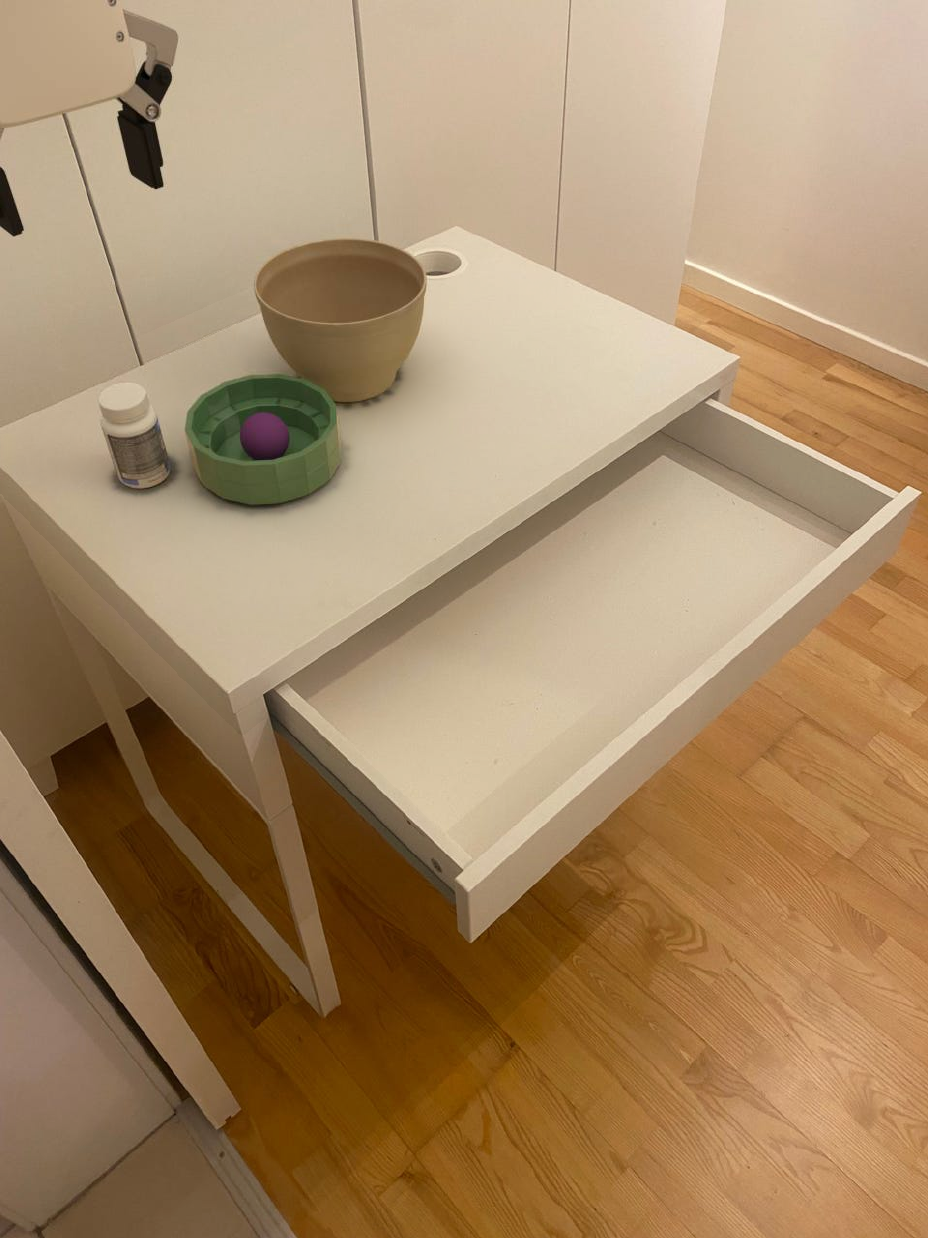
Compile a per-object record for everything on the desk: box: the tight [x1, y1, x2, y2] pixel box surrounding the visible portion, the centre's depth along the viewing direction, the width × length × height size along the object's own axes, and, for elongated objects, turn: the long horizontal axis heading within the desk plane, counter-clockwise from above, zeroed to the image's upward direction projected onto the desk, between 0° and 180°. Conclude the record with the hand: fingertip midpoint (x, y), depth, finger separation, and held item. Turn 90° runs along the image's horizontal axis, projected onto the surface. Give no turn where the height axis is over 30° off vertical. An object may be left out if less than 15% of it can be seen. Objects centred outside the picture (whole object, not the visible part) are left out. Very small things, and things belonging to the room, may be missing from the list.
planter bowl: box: [253, 237, 428, 403], centre depth 94 cm, size 16×16×11 cm
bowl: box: [184, 373, 342, 506], centre depth 87 cm, size 13×13×5 cm
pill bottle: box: [97, 381, 171, 489], centre depth 84 cm, size 5×5×8 cm
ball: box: [240, 412, 290, 461], centre depth 86 cm, size 4×4×4 cm
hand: (80, 203), depth 61 cm, fingers open, 9 cm apart
